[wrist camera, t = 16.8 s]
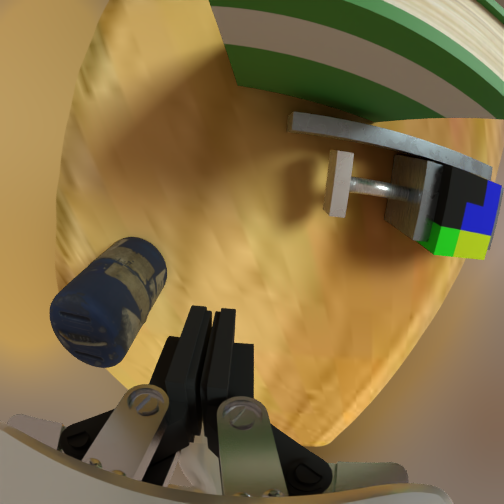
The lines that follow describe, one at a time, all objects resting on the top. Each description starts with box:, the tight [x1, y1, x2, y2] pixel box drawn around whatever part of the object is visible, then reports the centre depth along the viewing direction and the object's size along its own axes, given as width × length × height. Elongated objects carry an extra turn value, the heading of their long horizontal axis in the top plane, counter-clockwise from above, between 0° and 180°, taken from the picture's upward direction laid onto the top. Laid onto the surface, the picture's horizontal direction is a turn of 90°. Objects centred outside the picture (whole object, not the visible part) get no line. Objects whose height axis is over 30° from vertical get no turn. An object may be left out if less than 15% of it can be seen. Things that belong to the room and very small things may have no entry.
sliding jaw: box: [323, 149, 443, 242], centre depth 28 cm, size 9×12×8 cm
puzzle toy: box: [415, 162, 502, 260], centre depth 28 cm, size 10×10×10 cm
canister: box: [50, 237, 167, 368], centre depth 29 cm, size 10×10×18 cm
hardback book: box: [209, 0, 504, 122], centre depth 16 cm, size 18×7×24 cm, turn 78°
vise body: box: [287, 112, 504, 250], centre depth 28 cm, size 12×30×8 cm, turn 86°
